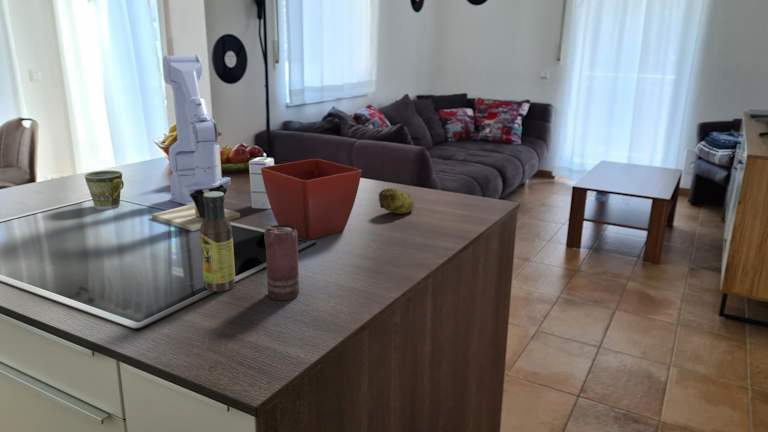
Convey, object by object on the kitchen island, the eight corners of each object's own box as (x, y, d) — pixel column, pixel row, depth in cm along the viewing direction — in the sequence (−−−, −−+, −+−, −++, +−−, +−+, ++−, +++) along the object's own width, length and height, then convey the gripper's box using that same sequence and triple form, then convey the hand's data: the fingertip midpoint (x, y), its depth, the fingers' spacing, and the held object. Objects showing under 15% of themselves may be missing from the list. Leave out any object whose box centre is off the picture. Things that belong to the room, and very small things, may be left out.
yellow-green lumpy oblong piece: (423, 214, 172) (424, 187, 169) (385, 219, 166) (386, 192, 163) (408, 206, 178) (409, 181, 176) (371, 212, 172) (371, 186, 170)
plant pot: (363, 230, 156) (363, 169, 151) (306, 247, 143) (304, 180, 138) (317, 215, 169) (316, 158, 164) (261, 229, 156) (258, 167, 151)
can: (268, 289, 119) (265, 223, 115) (299, 288, 120) (297, 223, 116) (265, 302, 113) (261, 233, 109) (298, 301, 114) (296, 233, 110)
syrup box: (269, 209, 174) (267, 161, 169) (251, 208, 175) (248, 160, 171) (276, 204, 179) (274, 157, 175) (258, 203, 180) (256, 156, 176)
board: (152, 218, 163) (151, 214, 163) (199, 206, 176) (199, 202, 176) (192, 231, 153) (192, 226, 153) (240, 217, 166) (239, 212, 166)
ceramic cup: (81, 208, 172) (76, 175, 169) (110, 200, 180) (106, 168, 177) (111, 215, 166) (107, 180, 163) (140, 206, 174) (136, 173, 172)
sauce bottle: (202, 283, 121) (194, 190, 116) (233, 279, 124) (227, 187, 118) (206, 295, 116) (198, 198, 110) (238, 290, 118) (232, 195, 112)
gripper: (192, 173, 149) (197, 223, 153) (237, 163, 160) (239, 211, 164) (175, 169, 153) (180, 218, 157) (220, 160, 164) (223, 207, 168)
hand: (209, 214), depth 161 cm, fingers closed on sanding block, 4 cm apart
